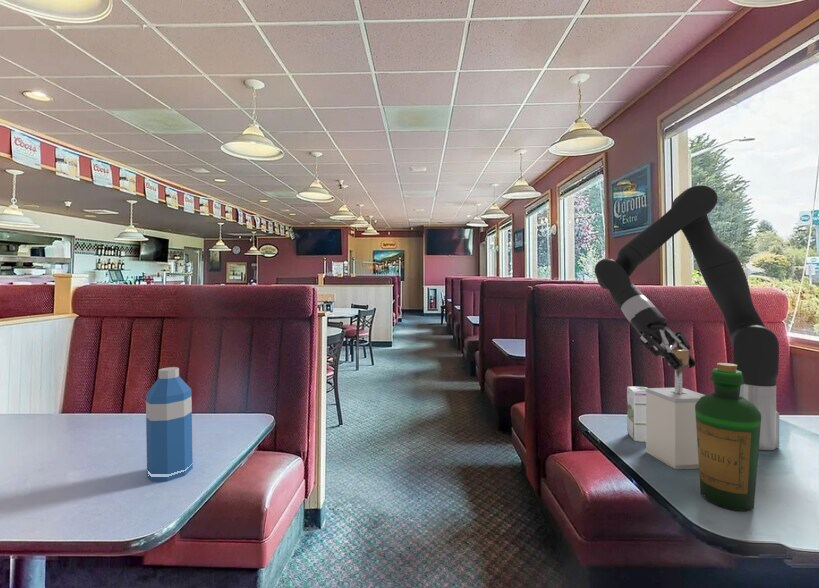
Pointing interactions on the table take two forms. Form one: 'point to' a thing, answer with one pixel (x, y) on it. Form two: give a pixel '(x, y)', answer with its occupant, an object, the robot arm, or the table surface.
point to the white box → (672, 427)
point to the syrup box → (636, 413)
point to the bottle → (727, 441)
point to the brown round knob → (684, 359)
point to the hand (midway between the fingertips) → (686, 366)
